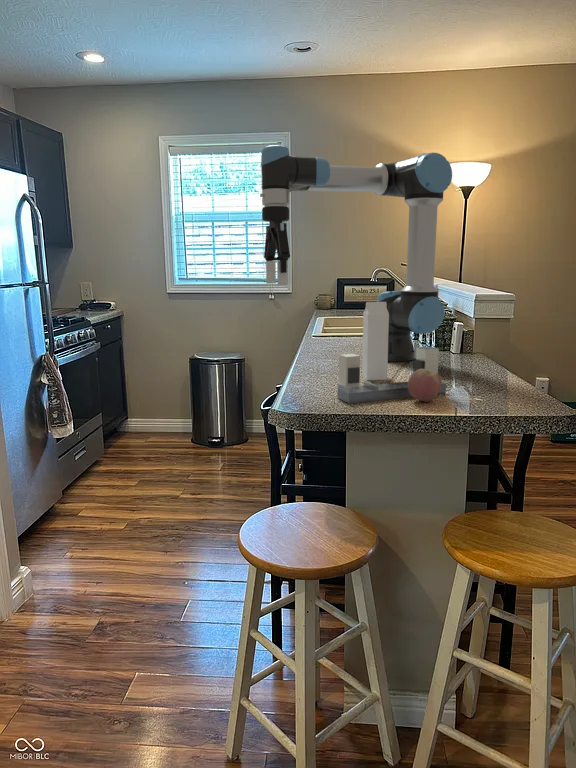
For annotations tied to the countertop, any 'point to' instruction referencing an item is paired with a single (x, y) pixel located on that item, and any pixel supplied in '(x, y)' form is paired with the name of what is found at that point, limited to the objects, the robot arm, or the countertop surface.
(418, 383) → the apple
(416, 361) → the rail
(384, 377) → the milk
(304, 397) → the countertop surface
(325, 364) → the countertop surface
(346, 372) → the short white pillar
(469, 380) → the countertop surface
